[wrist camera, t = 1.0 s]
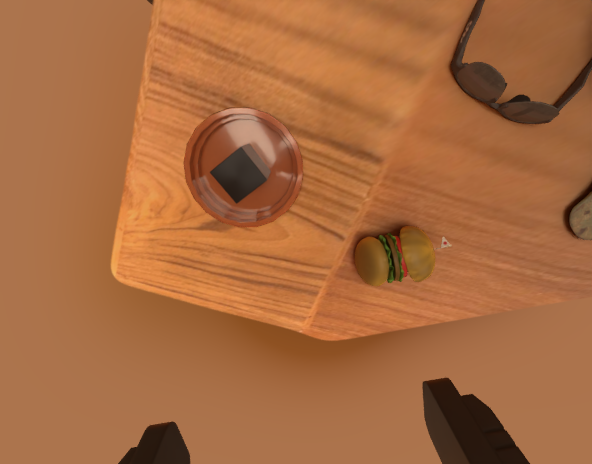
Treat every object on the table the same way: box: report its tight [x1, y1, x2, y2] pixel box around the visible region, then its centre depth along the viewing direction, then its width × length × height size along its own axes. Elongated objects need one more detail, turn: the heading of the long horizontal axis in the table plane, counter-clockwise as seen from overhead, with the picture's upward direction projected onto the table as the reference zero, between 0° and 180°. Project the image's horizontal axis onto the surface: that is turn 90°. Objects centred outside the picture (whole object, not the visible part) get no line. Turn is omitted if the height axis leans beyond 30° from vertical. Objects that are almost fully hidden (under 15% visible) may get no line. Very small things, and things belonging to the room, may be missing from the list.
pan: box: [184, 108, 303, 227], centre depth 39 cm, size 14×14×4 cm
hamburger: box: [355, 226, 452, 286], centre depth 41 cm, size 8×7×12 cm
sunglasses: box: [451, 0, 592, 124], centre depth 34 cm, size 16×17×5 cm
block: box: [210, 144, 271, 204], centre depth 36 cm, size 4×4×7 cm
